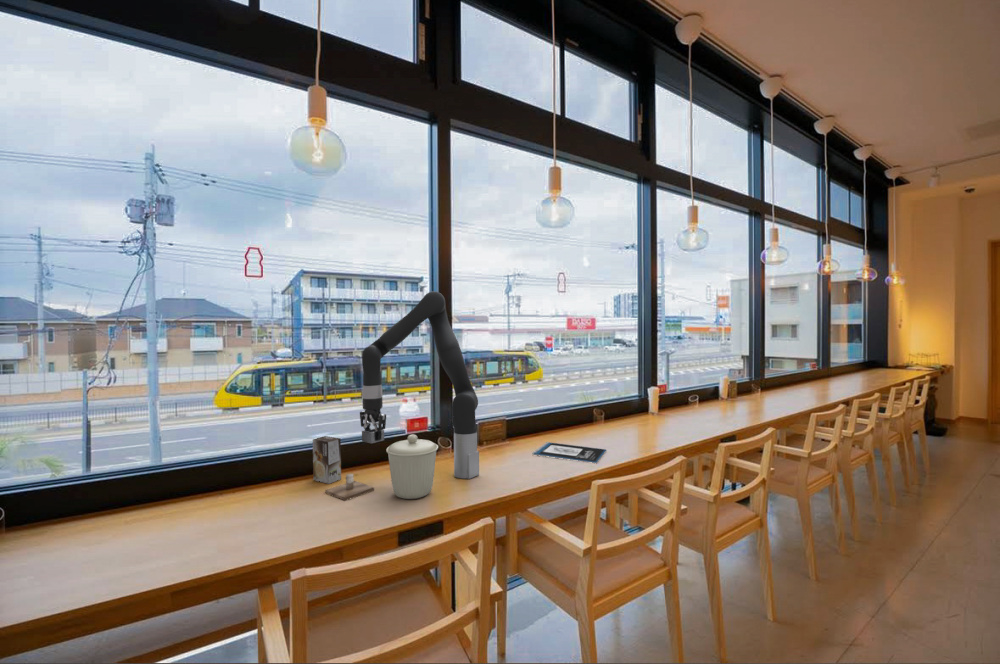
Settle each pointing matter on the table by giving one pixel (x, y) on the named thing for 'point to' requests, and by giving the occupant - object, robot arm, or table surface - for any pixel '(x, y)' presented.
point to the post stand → (349, 489)
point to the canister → (412, 467)
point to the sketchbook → (570, 452)
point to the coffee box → (327, 459)
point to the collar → (371, 436)
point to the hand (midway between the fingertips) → (373, 439)
